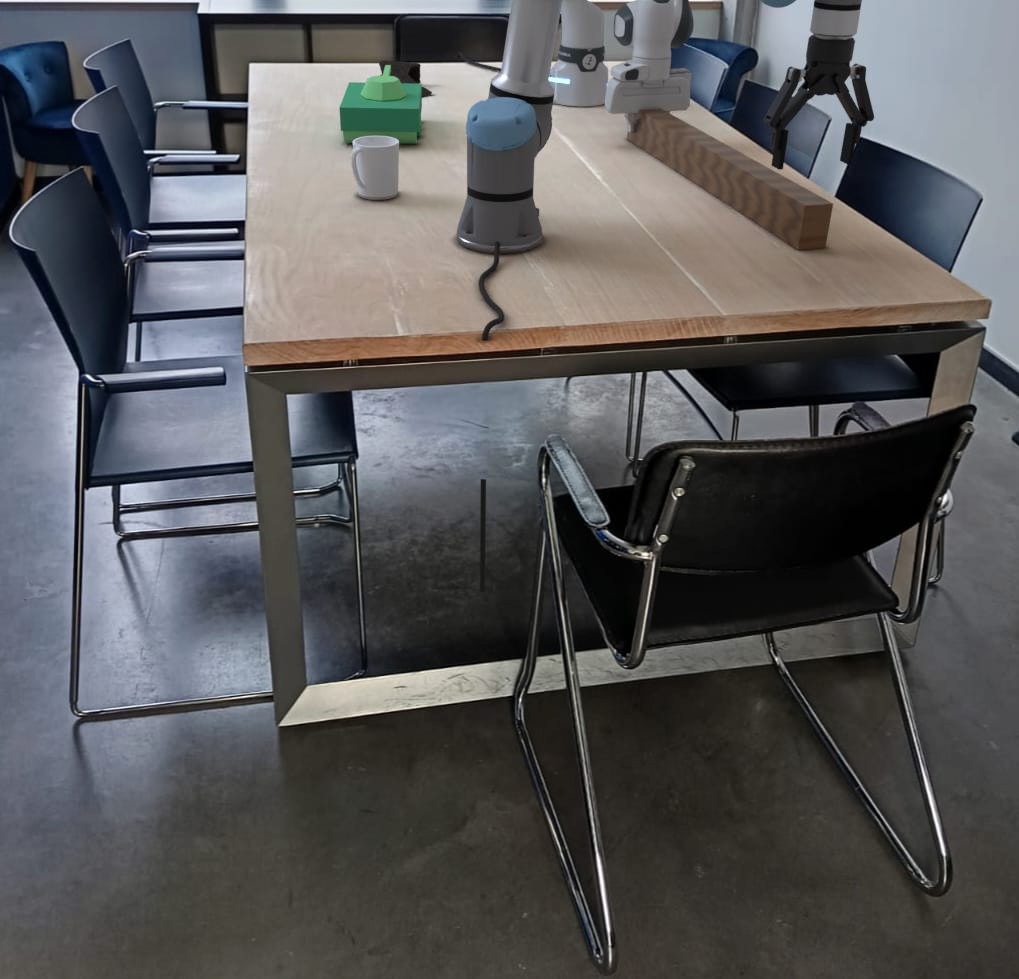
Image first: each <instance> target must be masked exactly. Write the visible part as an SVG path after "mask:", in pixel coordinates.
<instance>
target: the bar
mask: <svg viewBox="0 0 1019 979" xmlns="http://www.w3.org/2000/svg"><path fill="white" fill-rule="evenodd" d="M631 120H632V123H634V124H636V125H637V126H636V132H634V133H629V132H628V130H627V133H626V140H627V141H629V142H631V143H632V144H633V145H635V146H636V147H638V148H640V149H641V150H643V151H644V152H646V153H648V154H649V155H650V156H652V157H654V158H655V159H657V160H658V161H659V162H661V163H663V164H665V165H666V166H668V167H669V168H671V169H672V170H674V171H675V172H677V173H679V174H680V175H681V176H683V177H684V178H686V179H688V180H689V181H691V182H692V183H694V184H696V185H697V186H698V187H700V188H702V189H703V190H704V191H706V192H707V193H709V194H711V195H712V196H714V197H716V198H717V199H718V200H720V201H722V202H723V203H724V204H726V205H728V206H729V207H731V208H732V209H734V210H736V211H737V212H739V213H740V214H742V215H743V216H745V217H746V218H748V219H749V220H751V221H752V222H754V223H756V224H757V225H759V226H760V227H762V228H763V229H765V230H766V231H768V232H770V233H771V234H772V235H773V236H775V237H776V238H779V239H780V240H782V241H784V242H785V243H787V244H788V245H789V246H791V247H792V248H794V249H795V250H797V251H801V250H813V249H822V248H823V249H825V248H826V246H827V241H828V235H829V229H830V225H831V218H832V212H833V206H834V203H833V202H831V201H829V200H827V199H826V198H824V197H822V196H820V195H818V194H817V193H815V192H813V191H811V190H809V189H808V188H805V187H804V186H802V185H800V184H799V183H798V182H795V181H793V180H791V179H789V178H788V177H786V176H784V175H782V174H781V173H779V172H777V171H775V170H773V169H771V168H769V167H768V166H766V165H764V164H763V163H760V162H759V161H757V160H755V159H754V158H751V157H750V156H748V155H746V154H744V153H743V152H741V151H739V150H737V149H736V148H733V147H731V146H730V145H728V144H726V143H724V142H722V141H720V140H718V139H717V138H716V137H713V136H711V135H710V134H708V133H706V132H704V131H703V130H701V129H699V128H697V127H695V126H693V125H692V124H690V123H689V122H688V123H687V122H686V121H684V120H683V119H680V117H677V116H675V115H673V114H672V113H671V112H670V113H668V112H666V111H664V110H662V109H651V110H639V113H633V118H631Z"/></svg>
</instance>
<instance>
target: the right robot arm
mask: <svg viewBox="0 0 1019 979" xmlns="http://www.w3.org/2000/svg"><path fill="white" fill-rule="evenodd" d="M560 17H561V18H560V19H561V41H560V42H561V43H560V44H559V48H558V51H557V61H556V62H555V63H554V65H553V66H551V68H550V74H549V83H550V84H551V86H552V87H553V89H554V90H555V94H554V99H553V105H554V104H555V105H562V106H569V107H597V106H602V105H604V108H605V110H606V112H608V113H609V114H611V115H623V117H624V120H625V122H626V124H627V131H628V132H629V133H634V132H636V126H637V125H636V124H634V123H632V120H631V118H633V113H639V110H651V109H662V110H664V111H666V112H668V113H670V114H671V112H680V111H687V110H688V108H689V107H690V106H691V84H692V76H693V75H692V73H691V71H690V70H689V69H687V67H681V68H680V67H679V68H675V67H674V68H673V67H672V68H671V64H672V49H679V48H681V47H682V46H684V45H685V43H686V42H687V41H689V39H690V38H691V36H692V35H693V32H694V22H695V21H694V15H693V11H692V8H691V4H690V0H632V1H630V2H628V3H623V4H622V5H621V6H620V7H619V8H618V10H617V11H616V13H615V14H614V18H613V36H614V37H615V40H616V41H617V42H618V43H619V44H620V45H622V46H623V47H627V48H633V51H632V54H631V58H630V59H627V60H626V61H622V62H620V63H619V64H615V65H613V66H612V67H611V68H610V76H611V78H610V79H609V68H608V66H606V65H605V62H604V61H605V55H606V49H605V48H606V47H605V45H604V43H605V42H604V40H605V24H606V18H605V14H604V12H603V10H602V9H601V8H600V7H599V6H598V5H597V4H595V3H593V2H591V1H589V0H563V1H562V7H561V12H560ZM457 58H458V59H459V58H461V60H462V61H464V62H466V63H468V64H470V65H473V66H476V67H479V68H483V69H488V70H491V71H496V72H499V73H500V72H501V68H502V67H497V66H493V65H488V64H484V63H480V62H476V61H473V60H470V59H468V58H466V57H465V56H464V54H463V53H462V52H459V53H458V54H457Z"/></svg>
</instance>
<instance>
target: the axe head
mask: <svg viewBox="0 0 1019 979" xmlns="http://www.w3.org/2000/svg"><path fill="white" fill-rule="evenodd" d="M385 65H391V73H390V76H395V77H396V78H398V79H399V80H400V82H401V83H410V84H422V82H421V63H419V62H410V61H408V62H407V61H397V60H388V59H387V60H380V61H379V62H378V66H379V68H380V72H381V74H379V76H381V75H383V72H384V68H385ZM432 94H433V91H431V90H430V89H428V88H427V87H425V86H422V97H425V96H429V95H432Z"/></svg>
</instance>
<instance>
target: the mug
mask: <svg viewBox="0 0 1019 979" xmlns="http://www.w3.org/2000/svg"><path fill="white" fill-rule="evenodd" d="M399 160H400V143H399V141H398V140H397V139H396V138H393V137H388V136H364V137H359V138H356V139H354V140H353V143H352V152H351V154H350V165H351V169H352V170H351V171H352V172H353V177H354V179H355V181H356V190H357V195H358V196H359V197H360V198H361V199H366V200H370V201H371V200H372V201H381V200H382V201H383V200H390V199H393V198H396V197H397V196H398V194H399V173H400V172H399V169H400V168H399V164H400V161H399Z"/></svg>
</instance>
